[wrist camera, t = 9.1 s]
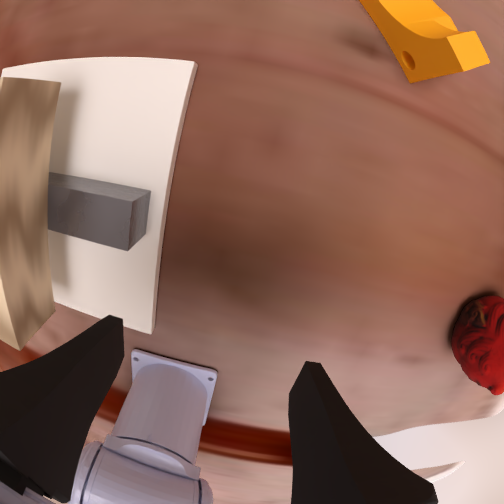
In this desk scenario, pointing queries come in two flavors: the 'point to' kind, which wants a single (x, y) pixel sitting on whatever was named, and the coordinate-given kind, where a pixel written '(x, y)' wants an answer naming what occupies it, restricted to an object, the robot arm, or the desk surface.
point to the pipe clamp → (425, 38)
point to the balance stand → (111, 178)
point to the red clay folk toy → (481, 342)
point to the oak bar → (25, 206)
